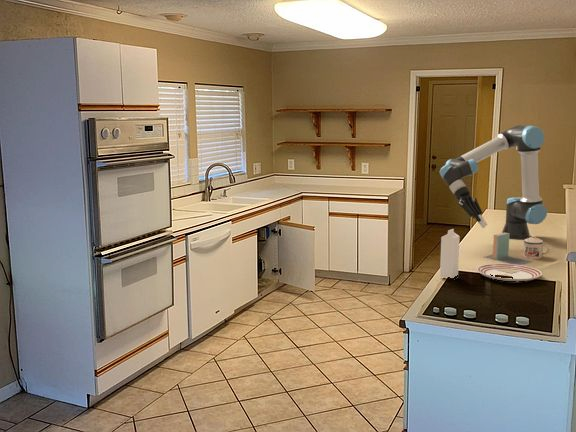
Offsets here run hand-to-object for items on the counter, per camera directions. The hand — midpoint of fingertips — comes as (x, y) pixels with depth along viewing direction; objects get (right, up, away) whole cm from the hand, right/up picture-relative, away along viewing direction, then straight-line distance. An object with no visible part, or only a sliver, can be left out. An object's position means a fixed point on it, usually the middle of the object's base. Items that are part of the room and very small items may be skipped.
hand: (484, 226), depth 298 cm
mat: (+8, -17, -9) cm, 21 cm away
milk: (-28, -23, -36) cm, 51 cm away
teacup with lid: (+24, -16, -5) cm, 29 cm away
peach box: (+6, -16, -6) cm, 18 cm away
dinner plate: (-1, -22, -35) cm, 42 cm away
